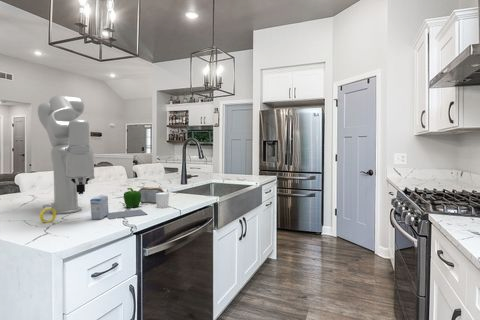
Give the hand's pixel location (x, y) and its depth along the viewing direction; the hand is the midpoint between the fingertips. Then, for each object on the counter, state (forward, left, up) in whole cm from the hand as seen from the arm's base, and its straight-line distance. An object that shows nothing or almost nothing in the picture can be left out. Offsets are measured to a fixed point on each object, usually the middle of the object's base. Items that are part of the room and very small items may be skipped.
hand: (80, 193), depth 121 cm
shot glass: (+37, +9, -11) cm, 40 cm away
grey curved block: (+35, +23, -11) cm, 44 cm away
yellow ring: (-12, +4, -11) cm, 17 cm away
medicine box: (+7, +1, -11) cm, 13 cm away
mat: (+18, +1, -11) cm, 21 cm away
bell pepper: (+24, +17, -11) cm, 32 cm away
